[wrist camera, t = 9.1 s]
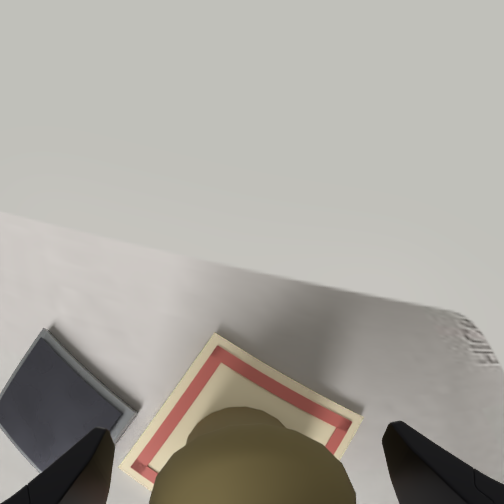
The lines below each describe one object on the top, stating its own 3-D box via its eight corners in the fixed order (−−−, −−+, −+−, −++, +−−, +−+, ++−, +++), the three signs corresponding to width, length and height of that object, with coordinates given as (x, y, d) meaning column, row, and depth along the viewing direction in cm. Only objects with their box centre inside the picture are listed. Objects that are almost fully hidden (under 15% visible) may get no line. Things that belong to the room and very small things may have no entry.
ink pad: (137, 412, 15) (132, 412, 14) (74, 500, 12) (67, 503, 11) (48, 330, 17) (40, 326, 16) (-6, 413, 13) (-15, 412, 12)
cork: (318, 449, 14) (437, 490, 5) (246, 524, 12) (270, 644, 2) (235, 384, 16) (245, 348, 6) (160, 458, 14) (65, 518, 4)
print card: (360, 417, 16) (364, 417, 15) (271, 550, 11) (272, 553, 11) (215, 334, 18) (214, 331, 17) (120, 465, 13) (117, 467, 13)
